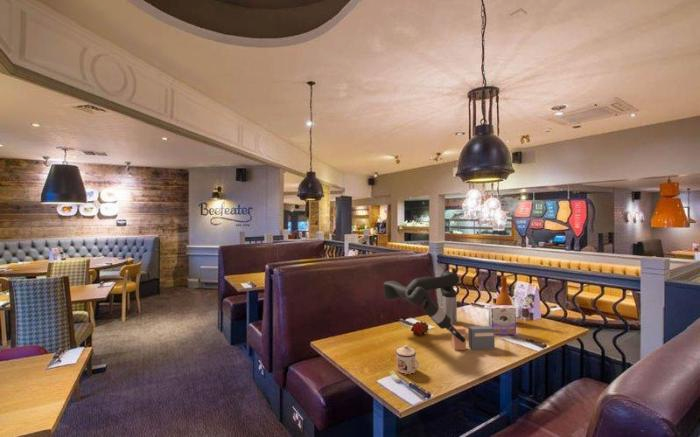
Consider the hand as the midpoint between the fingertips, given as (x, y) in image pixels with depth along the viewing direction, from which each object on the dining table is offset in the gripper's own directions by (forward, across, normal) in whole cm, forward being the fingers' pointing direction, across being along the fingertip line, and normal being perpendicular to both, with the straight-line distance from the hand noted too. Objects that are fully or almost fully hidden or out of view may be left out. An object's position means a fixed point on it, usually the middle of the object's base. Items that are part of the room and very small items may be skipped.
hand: (462, 339), depth 173 cm
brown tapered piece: (+33, -37, +26) cm, 56 cm away
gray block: (+11, 0, +4) cm, 12 cm away
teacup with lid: (-20, +22, -28) cm, 41 cm away
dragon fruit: (-9, -21, -16) cm, 28 cm away
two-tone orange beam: (+2, 0, -5) cm, 5 cm away
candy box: (+26, -18, +18) cm, 36 cm away
